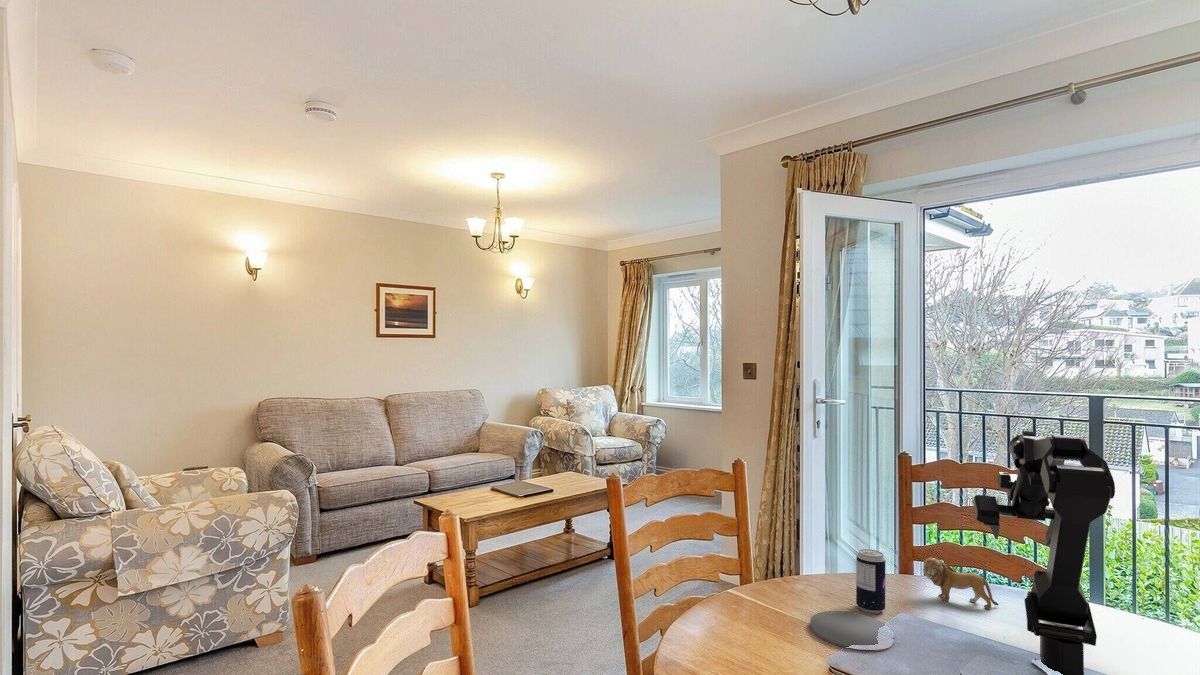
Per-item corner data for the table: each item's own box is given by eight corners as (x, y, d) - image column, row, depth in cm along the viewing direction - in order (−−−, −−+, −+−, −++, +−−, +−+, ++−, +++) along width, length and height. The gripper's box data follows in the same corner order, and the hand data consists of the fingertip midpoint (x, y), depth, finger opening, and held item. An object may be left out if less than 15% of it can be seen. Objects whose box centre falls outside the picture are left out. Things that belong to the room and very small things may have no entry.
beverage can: (888, 616, 126) (888, 557, 127) (859, 613, 127) (859, 555, 128) (881, 605, 132) (881, 549, 132) (853, 603, 133) (854, 547, 133)
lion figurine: (925, 601, 135) (925, 560, 136) (921, 592, 140) (921, 553, 141) (1001, 611, 130) (1001, 569, 131) (995, 602, 135) (994, 562, 136)
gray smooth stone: (907, 654, 109) (907, 647, 110) (821, 647, 111) (821, 641, 111) (878, 619, 124) (878, 613, 124) (803, 614, 126) (803, 608, 126)
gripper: (1076, 464, 126) (1062, 517, 134) (973, 456, 133) (965, 507, 141) (1093, 504, 118) (1077, 558, 125) (981, 493, 125) (972, 545, 132)
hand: (1020, 540), depth 131 cm, fingers open, 9 cm apart
